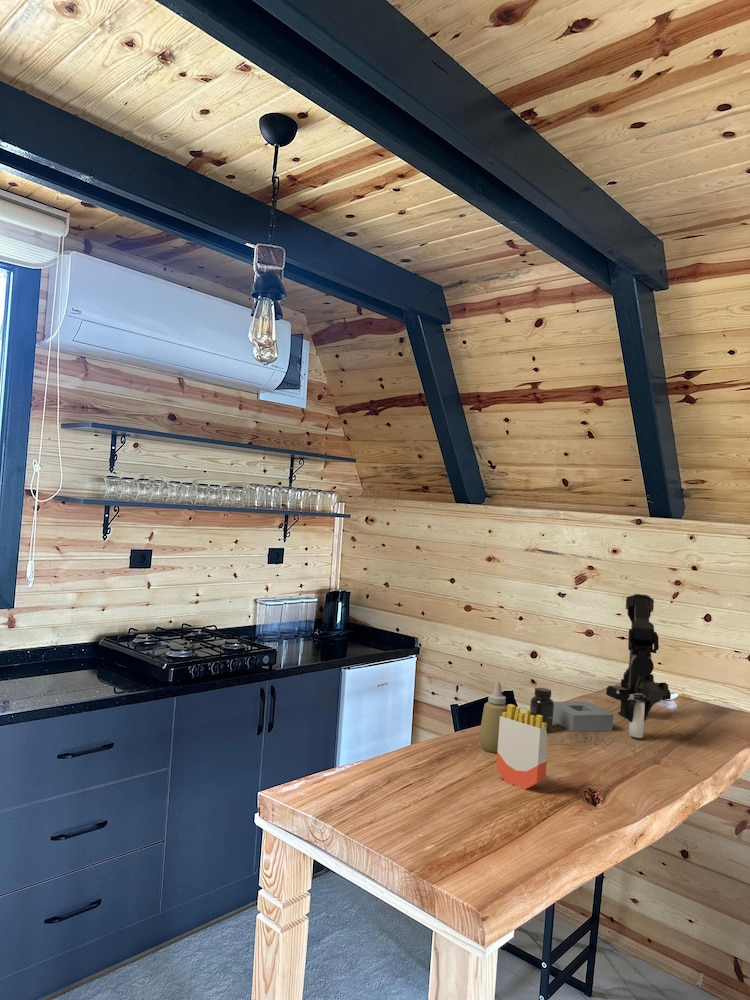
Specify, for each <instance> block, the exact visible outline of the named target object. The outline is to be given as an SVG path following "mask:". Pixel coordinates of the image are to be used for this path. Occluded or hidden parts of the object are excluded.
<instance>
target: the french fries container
mask: <svg viewBox="0 0 750 1000" xmlns="http://www.w3.org/2000/svg"><path fill="white" fill-rule="evenodd" d="M506 705H507V713H506V712H503V713H502V716H500V722H499V736H498V751H497V753H496V765H495V767H496V770H497V771H498V773H499V774H500V776H501V777H502V780H503V781H504V782H505V781H506V782H505V783H507V782H508V783H507V784H510V783H512V784H514V785H513V786H515V785H517V786H520V787H522V788H521V789H523V788H525V789H526V790H527V788H528V789H529V788H532V787H534V786H536V785H538V784H539V783H541V782H542V781H544V780H546V777H547V766H548V765H547V764H548V758H547V757H548V754H547V753H548V748H547V747H548V746H547V743H548V739H547V737H548V733H547V731H546V729H547V723H542V720H543V716H542V715H536V718H535V716H533V715H531V716H530V714H531V710H530V708H529V709H525V712H523V711H521V707H520V706H516V705H515V704H512V703H510V704H509V703H508V704H506ZM512 784H511V785H512ZM517 786H516V787H517ZM520 787H519V788H520ZM525 789H524V790H525Z"/></svg>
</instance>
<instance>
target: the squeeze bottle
mask: <svg viewBox="0 0 750 1000" xmlns="http://www.w3.org/2000/svg"><path fill="white" fill-rule="evenodd" d="M487 699H488V701H487V702H485V703H484V705H483V709H482V710H483V712H482V715H481V716H482V717H481V723H480V729H479V739H480V742H481V747H482V749H483V750H484V751H486V752H489V753H495V754H497V751H498V736H499V722H500V716H502V713H503V712H506V713H507V705H508V704H506V701H507V700H506V699H507V697H506V696H505V695H503V693H502V686H501V682H500V681H496V682H495V684H494V688H493V692H492V693H490V694H488V698H487Z"/></svg>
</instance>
